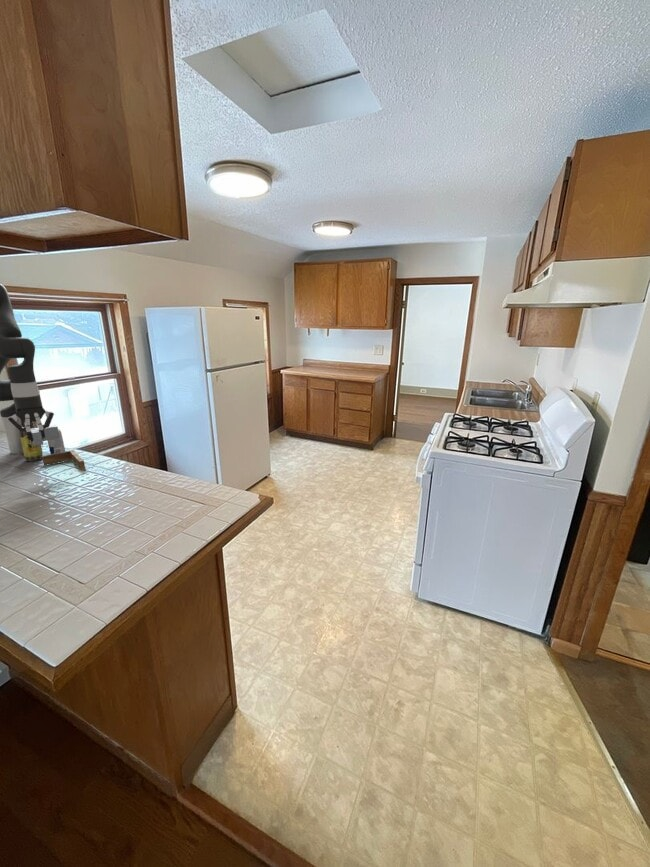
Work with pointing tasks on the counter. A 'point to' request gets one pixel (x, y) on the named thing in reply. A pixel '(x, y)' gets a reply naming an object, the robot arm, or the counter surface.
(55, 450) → the energy drink
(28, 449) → the sauce bottle
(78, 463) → the brown angled frame
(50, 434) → the bracket
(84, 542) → the counter surface
